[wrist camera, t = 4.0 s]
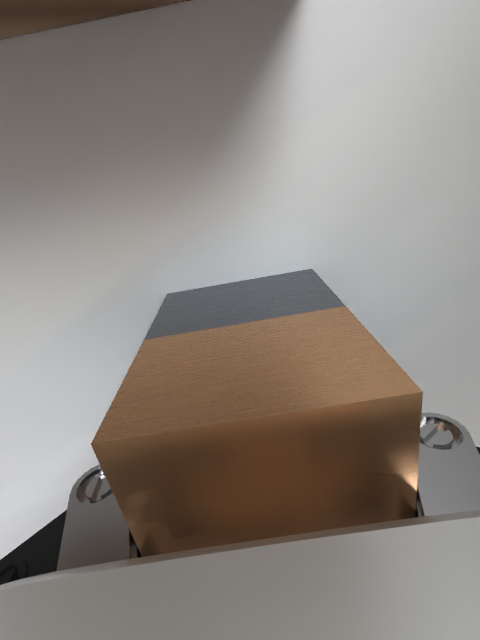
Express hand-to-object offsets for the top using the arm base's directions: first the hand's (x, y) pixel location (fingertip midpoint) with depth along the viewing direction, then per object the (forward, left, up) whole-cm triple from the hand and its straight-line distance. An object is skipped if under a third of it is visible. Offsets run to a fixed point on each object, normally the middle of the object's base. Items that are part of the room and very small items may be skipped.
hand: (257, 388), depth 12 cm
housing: (0, 0, -1) cm, 1 cm away
